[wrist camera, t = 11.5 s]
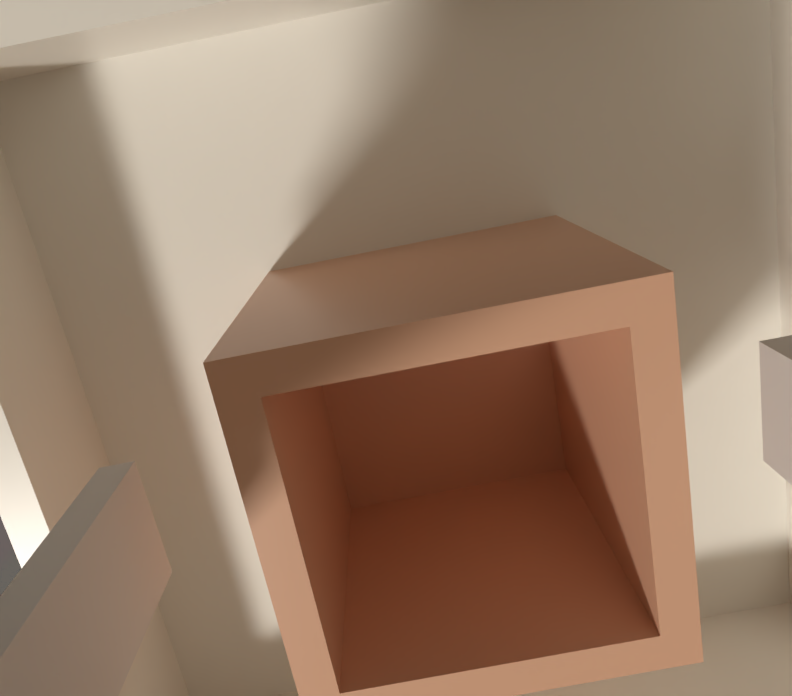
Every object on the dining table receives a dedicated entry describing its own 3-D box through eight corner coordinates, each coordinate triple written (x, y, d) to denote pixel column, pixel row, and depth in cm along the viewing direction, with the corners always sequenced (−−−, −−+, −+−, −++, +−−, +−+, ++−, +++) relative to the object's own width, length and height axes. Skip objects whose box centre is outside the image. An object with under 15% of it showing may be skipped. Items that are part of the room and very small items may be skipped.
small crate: (268, 271, 20) (202, 362, 12) (556, 214, 20) (672, 271, 12) (331, 523, 22) (309, 732, 14) (588, 475, 22) (704, 662, 14)
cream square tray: (-52, 55, 19) (-196, 30, 14) (784, -119, 18) (930, -207, 13) (180, 714, 25) (136, 851, 21) (803, 603, 25) (906, 717, 20)
